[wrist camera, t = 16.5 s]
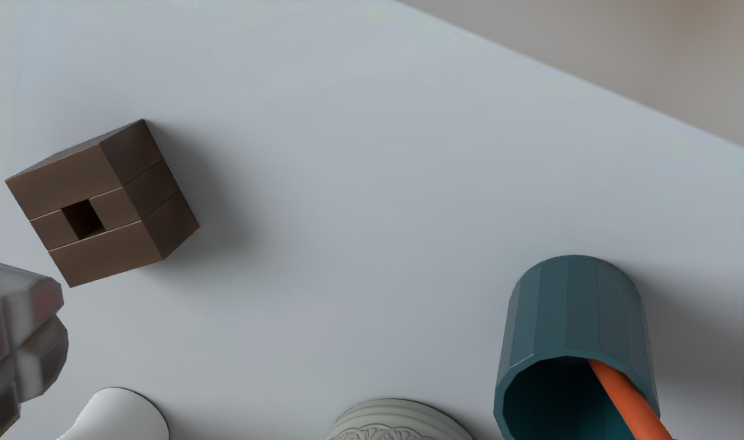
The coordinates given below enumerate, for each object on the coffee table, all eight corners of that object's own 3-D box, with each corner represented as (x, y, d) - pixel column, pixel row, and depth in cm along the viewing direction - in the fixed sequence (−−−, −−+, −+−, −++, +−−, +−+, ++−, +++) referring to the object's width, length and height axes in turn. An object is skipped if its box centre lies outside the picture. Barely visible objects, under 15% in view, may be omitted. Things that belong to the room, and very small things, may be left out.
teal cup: (492, 271, 45) (472, 364, 37) (622, 240, 42) (634, 334, 34) (532, 373, 48) (522, 483, 39) (658, 351, 45) (677, 466, 36)
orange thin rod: (560, 313, 45) (681, 506, 27) (581, 305, 44) (717, 495, 27) (567, 332, 45) (691, 534, 28) (588, 324, 45) (726, 522, 28)
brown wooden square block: (53, 154, 51) (3, 180, 46) (142, 118, 47) (98, 142, 43) (111, 254, 53) (69, 288, 49) (200, 227, 50) (164, 260, 46)
